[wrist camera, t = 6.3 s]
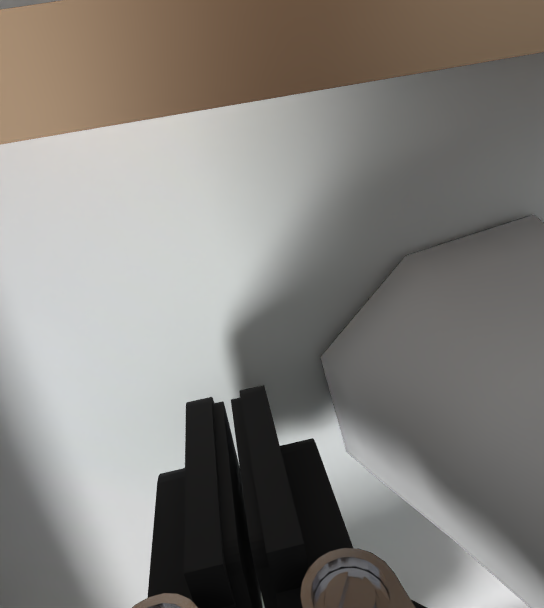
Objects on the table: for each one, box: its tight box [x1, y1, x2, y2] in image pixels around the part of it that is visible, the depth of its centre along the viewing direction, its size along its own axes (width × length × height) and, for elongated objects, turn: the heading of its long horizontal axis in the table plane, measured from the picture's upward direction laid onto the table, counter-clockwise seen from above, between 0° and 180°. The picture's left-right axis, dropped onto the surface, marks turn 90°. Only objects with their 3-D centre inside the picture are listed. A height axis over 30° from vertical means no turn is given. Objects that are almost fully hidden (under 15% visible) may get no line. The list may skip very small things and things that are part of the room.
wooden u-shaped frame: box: [0, 0, 544, 144], centre depth 11 cm, size 20×22×4 cm
